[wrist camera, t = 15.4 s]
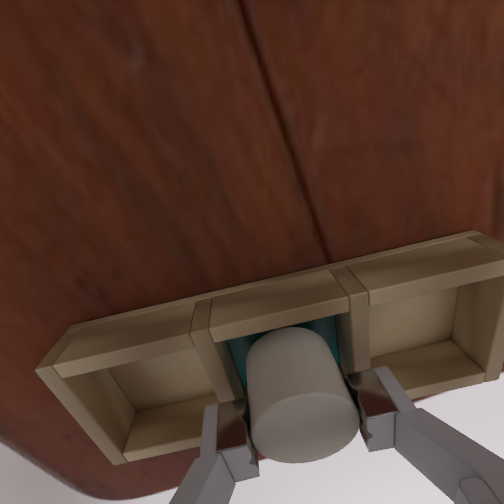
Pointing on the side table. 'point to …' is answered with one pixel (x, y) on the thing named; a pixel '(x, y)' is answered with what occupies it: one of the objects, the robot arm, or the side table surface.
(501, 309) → the grid
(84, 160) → the side table surface
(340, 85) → the side table surface
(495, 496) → the robot arm
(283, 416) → the cylinder
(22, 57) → the side table surface
